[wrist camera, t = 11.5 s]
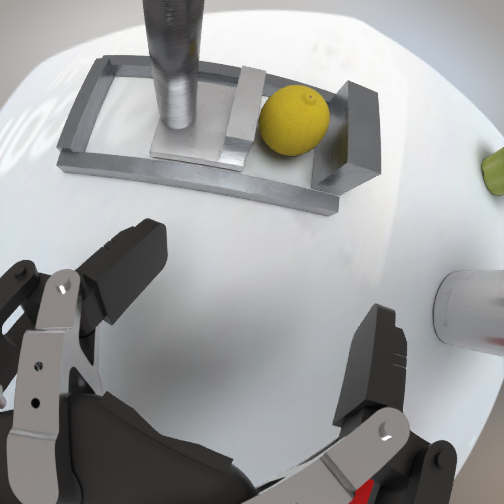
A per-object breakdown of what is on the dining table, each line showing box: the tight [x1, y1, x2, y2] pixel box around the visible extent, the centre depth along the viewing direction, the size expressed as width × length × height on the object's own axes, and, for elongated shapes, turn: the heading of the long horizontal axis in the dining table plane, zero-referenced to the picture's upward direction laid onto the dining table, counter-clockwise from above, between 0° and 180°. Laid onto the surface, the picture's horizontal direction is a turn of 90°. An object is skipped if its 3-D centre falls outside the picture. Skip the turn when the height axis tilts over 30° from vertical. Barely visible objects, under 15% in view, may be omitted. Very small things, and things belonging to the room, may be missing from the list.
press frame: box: [56, 55, 381, 216], centre depth 21 cm, size 26×13×7 cm, turn 81°
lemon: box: [259, 85, 330, 156], centre depth 22 cm, size 6×6×8 cm
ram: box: [143, 0, 266, 171], centre depth 14 cm, size 8×8×21 cm
